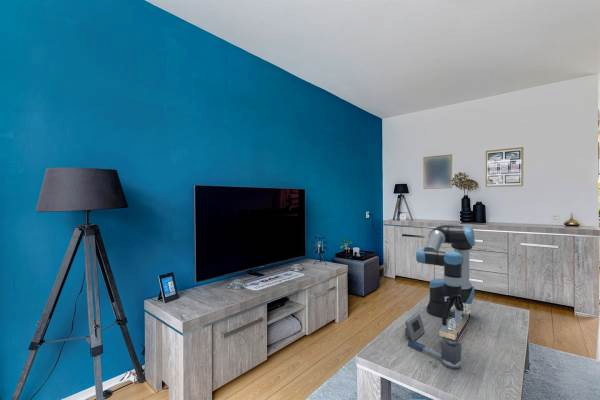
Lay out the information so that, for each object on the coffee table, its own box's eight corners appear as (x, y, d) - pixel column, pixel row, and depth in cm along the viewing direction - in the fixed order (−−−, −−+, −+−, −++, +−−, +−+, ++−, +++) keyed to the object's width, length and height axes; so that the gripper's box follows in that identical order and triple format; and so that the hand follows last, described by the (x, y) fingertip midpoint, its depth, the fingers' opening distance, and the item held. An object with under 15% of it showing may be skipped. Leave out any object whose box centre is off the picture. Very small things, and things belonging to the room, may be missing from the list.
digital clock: (412, 342, 156) (412, 323, 155) (399, 335, 163) (399, 317, 163) (430, 334, 164) (430, 317, 164) (416, 328, 172) (416, 311, 171)
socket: (447, 353, 141) (447, 336, 140) (461, 359, 135) (461, 341, 135) (441, 358, 137) (441, 340, 136) (455, 365, 131) (455, 346, 131)
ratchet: (413, 342, 156) (413, 332, 156) (463, 365, 135) (463, 354, 135) (405, 347, 151) (405, 337, 151) (455, 371, 130) (456, 360, 130)
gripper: (455, 277, 145) (455, 317, 146) (431, 287, 130) (431, 332, 131) (471, 281, 139) (470, 322, 140) (448, 292, 124) (447, 338, 125)
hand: (451, 327), depth 136 cm, fingers open, 13 cm apart
